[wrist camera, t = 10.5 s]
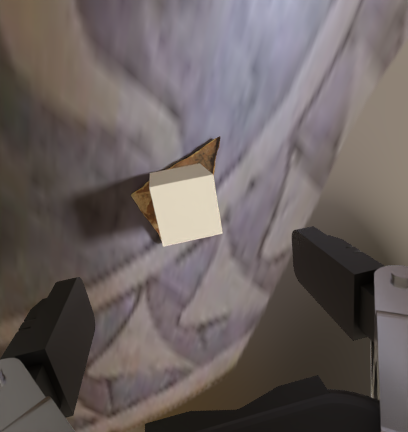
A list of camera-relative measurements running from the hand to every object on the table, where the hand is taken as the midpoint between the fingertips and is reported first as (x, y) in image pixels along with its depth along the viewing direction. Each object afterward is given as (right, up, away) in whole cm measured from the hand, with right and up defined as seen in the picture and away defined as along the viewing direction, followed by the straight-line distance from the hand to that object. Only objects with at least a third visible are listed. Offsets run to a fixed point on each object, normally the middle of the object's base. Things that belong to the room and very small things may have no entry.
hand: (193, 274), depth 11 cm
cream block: (-2, +5, +19) cm, 20 cm away
